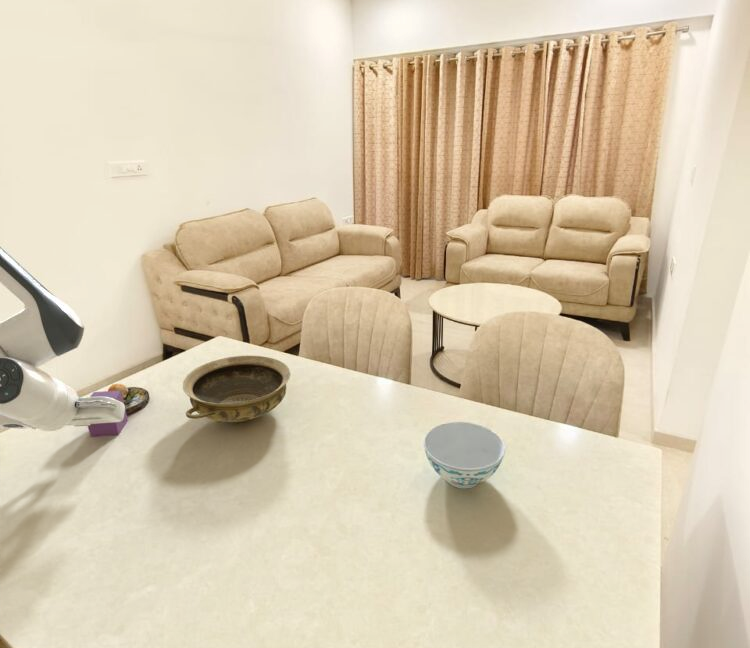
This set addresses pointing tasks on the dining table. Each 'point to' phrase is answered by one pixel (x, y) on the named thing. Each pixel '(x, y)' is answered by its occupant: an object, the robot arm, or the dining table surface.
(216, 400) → the ceramic bowl
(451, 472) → the chinaware
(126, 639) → the dining table surface
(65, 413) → the robot arm
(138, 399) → the dark lid with knob
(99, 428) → the block
